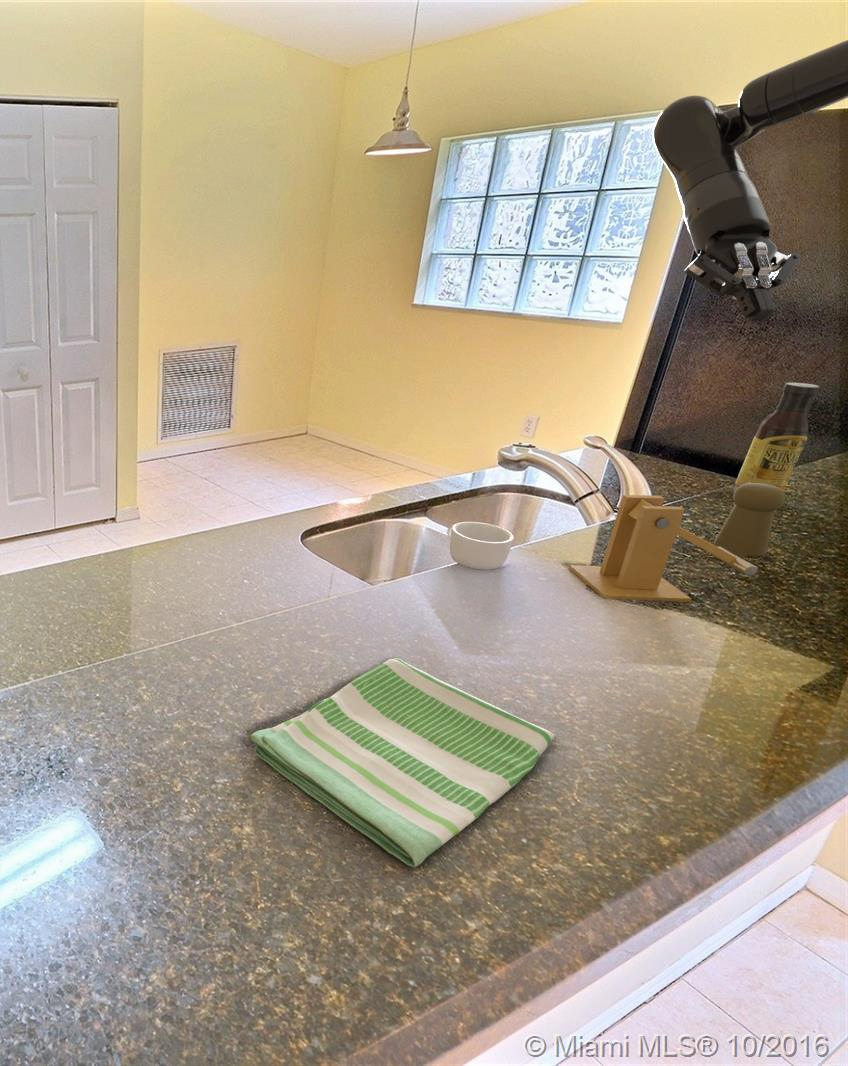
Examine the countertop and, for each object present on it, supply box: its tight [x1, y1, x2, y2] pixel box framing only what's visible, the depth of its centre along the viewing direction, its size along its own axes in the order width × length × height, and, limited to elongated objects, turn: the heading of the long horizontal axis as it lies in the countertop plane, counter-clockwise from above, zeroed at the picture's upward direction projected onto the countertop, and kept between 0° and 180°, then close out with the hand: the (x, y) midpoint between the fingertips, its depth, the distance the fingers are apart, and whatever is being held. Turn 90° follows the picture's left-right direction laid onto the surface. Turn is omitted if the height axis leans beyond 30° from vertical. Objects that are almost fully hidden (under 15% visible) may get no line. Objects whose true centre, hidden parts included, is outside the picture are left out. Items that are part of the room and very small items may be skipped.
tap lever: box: [628, 500, 759, 577], centre depth 91 cm, size 15×6×2 cm, turn 82°
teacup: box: [446, 521, 515, 571], centre depth 103 cm, size 10×8×5 cm
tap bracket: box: [568, 494, 692, 603], centre depth 93 cm, size 10×9×13 cm
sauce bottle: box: [732, 382, 820, 494], centre depth 120 cm, size 7×6×20 cm
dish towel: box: [249, 657, 555, 868], centre depth 67 cm, size 18×23×3 cm
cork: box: [712, 483, 786, 560], centre depth 101 cm, size 6×6×11 cm
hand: (761, 317), depth 92 cm, fingers closed
